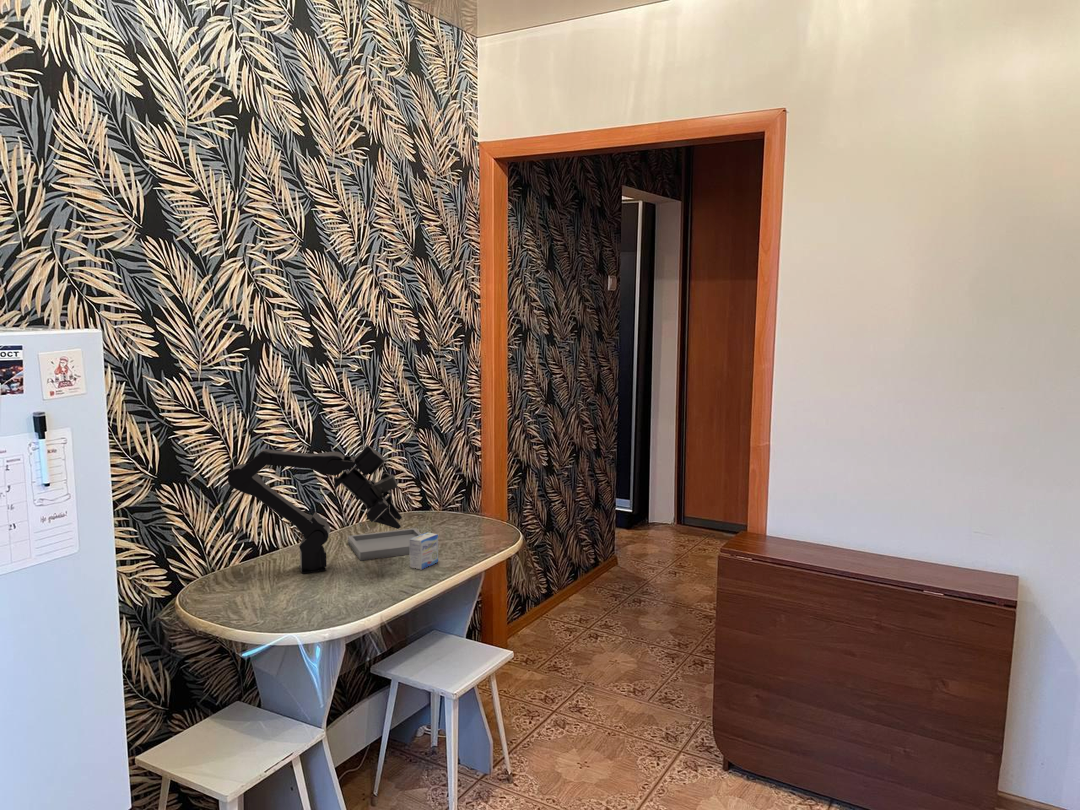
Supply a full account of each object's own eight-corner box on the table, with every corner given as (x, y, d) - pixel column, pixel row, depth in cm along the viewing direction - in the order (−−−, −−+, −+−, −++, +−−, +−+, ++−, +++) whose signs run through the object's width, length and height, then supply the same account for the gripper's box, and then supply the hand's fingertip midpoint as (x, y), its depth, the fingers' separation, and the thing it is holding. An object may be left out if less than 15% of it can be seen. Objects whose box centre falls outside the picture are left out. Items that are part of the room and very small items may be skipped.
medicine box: (421, 570, 214) (421, 540, 213) (409, 567, 216) (408, 538, 215) (438, 562, 220) (438, 534, 219) (426, 560, 223) (426, 531, 222)
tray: (360, 560, 221) (360, 552, 221) (347, 543, 237) (347, 535, 237) (432, 551, 231) (432, 543, 230) (415, 535, 247) (415, 528, 246)
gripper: (378, 473, 204) (420, 511, 207) (382, 459, 222) (420, 495, 225) (349, 502, 204) (391, 540, 207) (355, 486, 222) (394, 521, 225)
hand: (400, 523), depth 216 cm, fingers open, 9 cm apart
